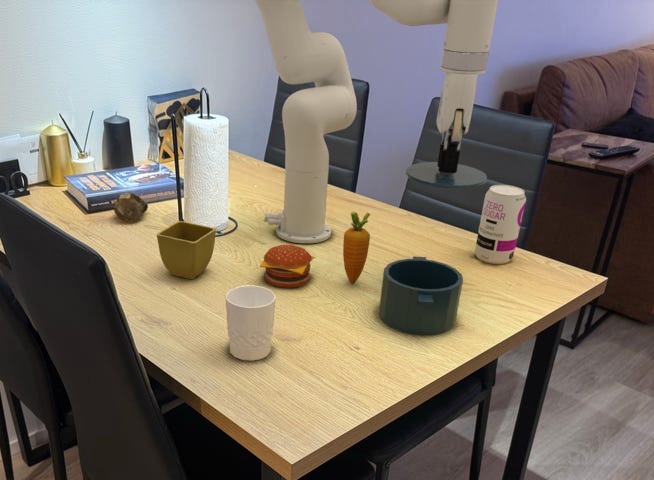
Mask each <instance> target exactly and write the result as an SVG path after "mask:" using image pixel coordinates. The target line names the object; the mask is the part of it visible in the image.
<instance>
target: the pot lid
mask: <svg viewBox="0 0 654 480" xmlns="http://www.w3.org/2000/svg"><path fill="white" fill-rule="evenodd" d="M443 149H444V148H443ZM437 164H438V161H426V162H425V161H424V162H417V163H414V164H411V165H409V166H408V167H407V168H406V169H405V175H406V176H407V178H408V179H410V180H411V181H414V182H416V183H419V184H421V185H426V186H429V187H434V188H441V189H451V190H453V189H454V190H455V189H456V190H458V189H459V190H460V189H473V188H477V187H481V186H483V185H485V184H486V182H487V180H488V176H487V174H486V173H485V172H483V171H482V170H480V169H478V168H475V167H472V166H469V165H466V164H459V163H458V167H457V172H456V173H443V172H439V167H438V165H437Z"/></svg>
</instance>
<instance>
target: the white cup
mask: <svg viewBox="0 0 654 480" xmlns="http://www.w3.org/2000/svg"><path fill="white" fill-rule="evenodd" d="M276 299H277V297H276V293H275V292H274V291H273V290H271V289H269V288H268V287H264V286H258V285H248V284H247V285H239V286H236V287H233V288H231V289H229V290H228V291H227V292H226V293H225V309H226V324H227V337H228V341H229V353H230V354H231V355H232V356H233V357H234V358H237V359H239V360H242V361H250V362H252V361H259V360H262V359H264V358H267V357H268V355H269V354H270V353H271V348H272V338H273V333H274V332H273V331H274V323H275V310H276Z"/></svg>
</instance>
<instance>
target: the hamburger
mask: <svg viewBox="0 0 654 480" xmlns="http://www.w3.org/2000/svg"><path fill="white" fill-rule="evenodd" d="M314 259H316V256H313V255H311V254H310V253H309V252H308V251H307V249H306V248H304V247H302V246H300V245H299V246H298V245H295V244H279V245H275V246H273V247H270V248H269V249H268V250H267V251H266V252H265V253H264V255H263V259H262V261H261V263H260V265H259V268H264V269H265V272H264V275H263V276H264V279H265V280H266V282H267V283H268V284H270V285H271V286H273V287H278V288H284V289H285V288H286V289H292V288H299V287H302V286H305V285H307V283H309V282H310V278H311V276H310V275H311V274H310V271H311V262H312V261H313V260H314Z"/></svg>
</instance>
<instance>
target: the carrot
mask: <svg viewBox="0 0 654 480" xmlns="http://www.w3.org/2000/svg"><path fill="white" fill-rule="evenodd" d="M370 215H371V213H370V212H366V213H365V215H364V216H363V218H362V220H360V216H359V214H358V212H355V211H351V212H350V218H351V221H352V222H351V223H350V225H351V226H352V227H349V228H348V229H347V230H346V231H344V234H343V243H342V244H343V245H342V249H343V250H342V259H343V266H344V271H345V275H346V277H347V279H348V282H349V283H350V284H351V285H354V284H355V283H356V282H357V281H358V279H359V278H360V276H361V274H362V273H363V271H364V267H365V265H366V262H367V258H368V253H369V248H370V241H371V234H370V232H369V231H368V230H367V229H366V228H364V226H365V224H367V223H369V219H368V218H369V217H370Z"/></svg>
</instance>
